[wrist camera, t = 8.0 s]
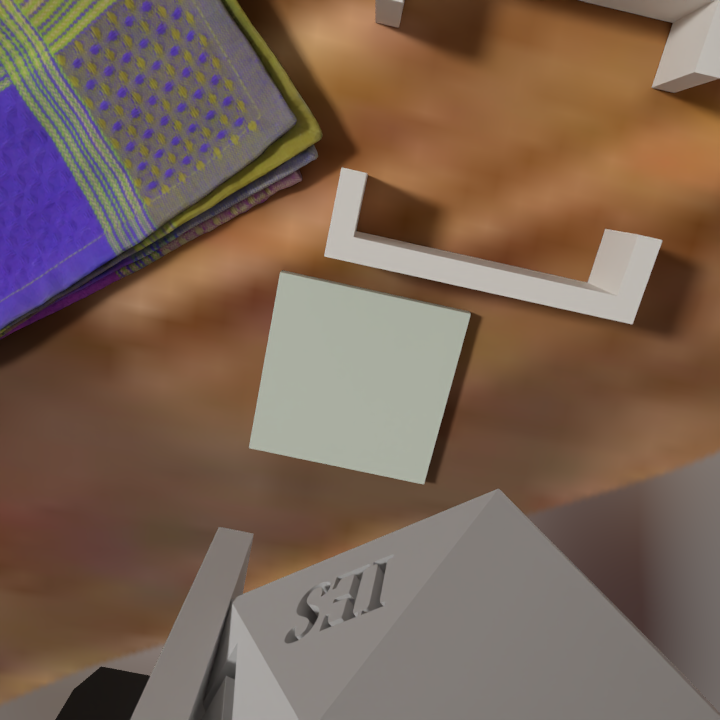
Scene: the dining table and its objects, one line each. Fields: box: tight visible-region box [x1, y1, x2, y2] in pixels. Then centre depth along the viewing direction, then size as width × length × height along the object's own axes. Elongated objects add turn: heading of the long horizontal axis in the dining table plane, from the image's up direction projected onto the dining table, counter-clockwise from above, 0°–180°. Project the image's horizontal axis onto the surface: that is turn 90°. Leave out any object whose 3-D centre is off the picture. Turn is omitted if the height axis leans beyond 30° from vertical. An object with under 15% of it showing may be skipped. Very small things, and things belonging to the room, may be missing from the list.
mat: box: [249, 270, 471, 484], centre depth 29 cm, size 9×9×1 cm
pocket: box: [324, 0, 720, 324], centre depth 24 cm, size 13×13×4 cm
